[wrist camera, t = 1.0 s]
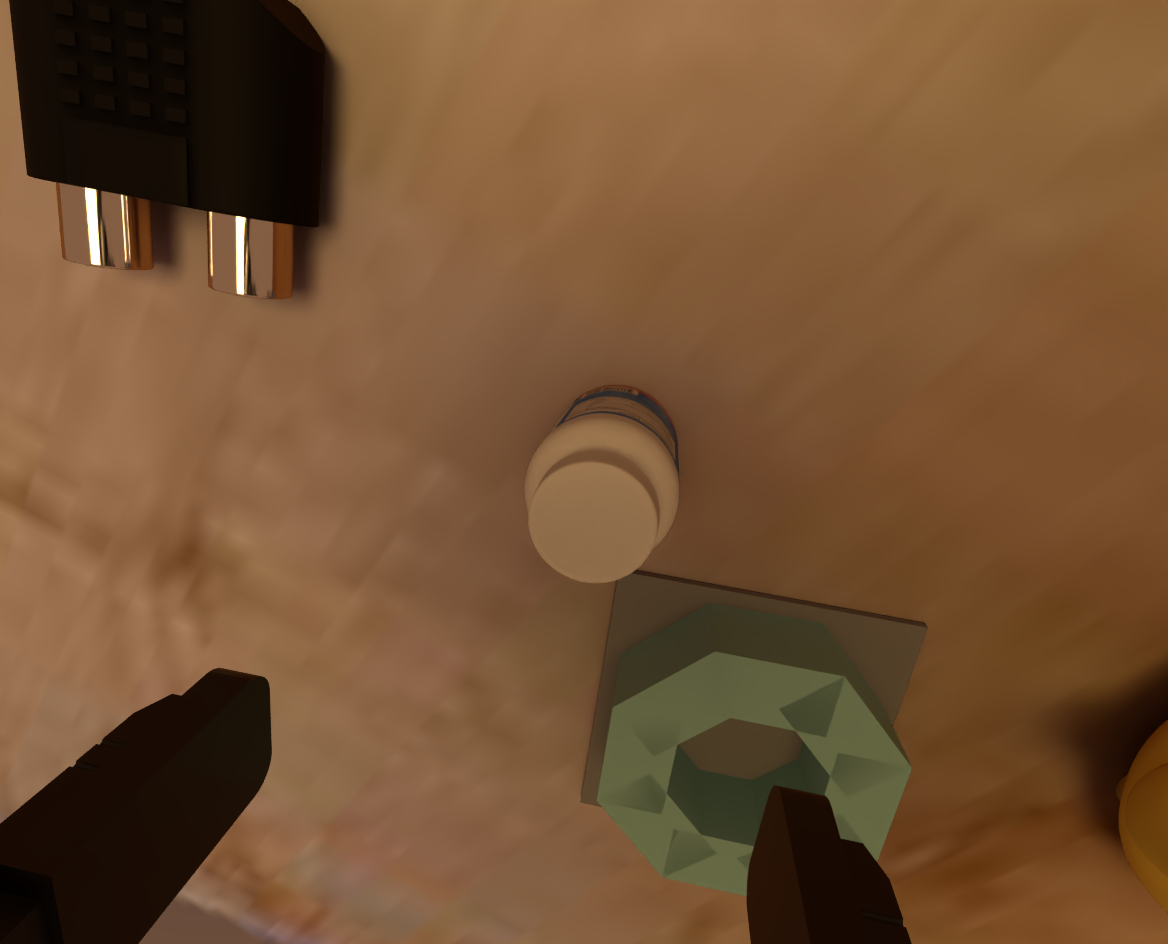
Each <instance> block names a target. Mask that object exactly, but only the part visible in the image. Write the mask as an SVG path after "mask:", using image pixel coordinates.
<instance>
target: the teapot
mask: <svg viewBox="0 0 1168 944" xmlns="http://www.w3.org/2000/svg"><path fill="white" fill-rule="evenodd" d="M1116 795H1117V798H1118V799H1119V801H1120V808H1119V814H1118V817H1119V832H1120V837H1121V842H1122V846H1123V849H1124V853H1125V855H1126V857H1127V860H1128V862H1129V865H1130V867H1131V868H1132V870H1133V872H1134V873H1135V875H1136V876H1137V878H1138V879H1139V881H1140V882H1141V883H1142V884H1143V886H1144V887H1145V888H1146V889H1147V891H1148V892H1149V893H1150V894H1151V896H1152V897H1153V898H1154V899H1155V900H1156V901H1157V902H1158V903H1159V904H1160V905H1161V907H1162V908H1163V909H1164V910H1165V911H1166V912H1167V913H1168V720H1166V721H1165V722H1164V723H1163V724H1162V725H1160V726H1159V727H1158V728H1157V729H1156V730H1155V731H1154V733H1153V734H1152V735H1151V736H1150V737H1149V738H1148V739H1147V740H1146V742H1145V743H1144V745H1143V746H1142V747H1141V749H1140V750H1139V752H1138V754H1137V755H1136V757H1135V759H1134V761H1133V763H1132V766H1131V768H1130V770H1129V772H1128V774H1127V775H1126V776H1124V777H1123V778H1122V779H1121V780H1120V781H1119V783H1118V785H1117V787H1116Z"/></svg>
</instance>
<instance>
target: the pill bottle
mask: <svg viewBox="0 0 1168 944" xmlns="http://www.w3.org/2000/svg"><path fill="white" fill-rule="evenodd" d="M524 492H525V502H526V507H527V510H528V526H529V532H530V536H531V539H532V542H533V544H534V546H535V548H536V550H537V551H538V553H539V554H540V556H541V557H542V558H543V559H544V561H545V562H546V563H547V564H548V565H549V566H551V567H552V568H553V569H554V570H556V571H557V572H559V573H560V574H562V575H564V576H566V577H568V578H571V579H574V580H577V581H581V582H586V583H606V582H611V581H616V580H618V579H621V578H623V577H625V576H627V575H629V574H631V573H632V572H634V571H635V570H636V569H637V568H639V567H640V566H641V565H642V564H643V563H644V562H645V560H646V559H647V557H648V556H649V554H650V553H651V551H652V549H654V548H655V547H656V546H657V545H658V544H659V543H660V542H661V541H662V540H663V538H664V537H665V536H666V534H667V533H668V531H669V530H670V528H671V526H672V524H673V522H674V519H675V516H676V513H677V509H678V504H679V467H678V444H677V436H676V432H675V429H674V426H673V423H672V421H671V419H670V417H669V416H668V414H667V413H666V411H665V410H664V408H663V407H662V406H661V405H660V404H659V403H658V402H657V401H656V400H655V399H653V398H652V397H651V396H649V395H648V394H646V393H644V392H642V391H640V390H637V389H635V388H631V387H626V386H604V387H600V388H597V389H594V390H591V391H589V392H587V393H585V394H583V395H582V396H580V397H579V398H577V399H576V400H575V401H574V402H573V403H572V404H571V405H570V406H569V407H568V408H567V409H566V411H565V412H564V413H563V415H562V416H561V417H560V419H559V420H558V422H557V423H556V424H555V426H554V427H553V428H552V430H551V431H550V433H549V434H548V435H547V436H546V438H545V439H544V440H543V442H542V443H541V444H540V445H539V447H538V448H537V450H536V451H535V453H534V455H533V457H532V459H531V461H530V463H529V466H528V469H527V473H526V477H525V487H524Z"/></svg>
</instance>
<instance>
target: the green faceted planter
mask: <svg viewBox="0 0 1168 944" xmlns="http://www.w3.org/2000/svg"><path fill="white" fill-rule="evenodd" d="M729 718H733V719H738V720H743V721H748V722H753V723H758V724H763V725H768V726H773V727H778V728H783V729H788V730H793V731H796V732H797V734H798V735H799V736H800V738H801V739H802V740H803V741H804V742H803V745H802V748H801V752H800V755H799V758H798V759H796V760H794V761H792V762H790V763H788V764H785V765H783V766H781V767H779V768H777V769H775V770H773V771H771V772H768V773H766V774H764V775H762V776H760V777H758V778H756V779H753V780H747V779H743V778H738V777H733V776H728V775H724V774H719V773H714V772H709V771H704V770H700V769H698V768H697V767H696V766H695V764H694V763H693V762H692V761H691V759H690V758H689V757H688V756H687V754H686V753H685V752H684V751H683V750H682V748H681V747H680V746H679V745H678V744H680V743H682V742H684V741H686V740H688V739H690V738H692V737H694V736H696V735H698V734H700V733H702V732H704V731H706V730H708V729H710V728H712V727H714V726H716V725H718V724H719V723H721V722H723V721H725V720H727V719H729ZM911 770H912V766H911V764H910V762H909V760H908V758H907V756H906V754H905V751H904V749H903V747H902V745H901V743H900V741H899V738H898V736H897V734H896V732H895V730H894V728H893V725H892V723H891V721H890V719H889V717H888V715H887V713H886V710H885V708H884V706H883V705H882V703H881V702H880V700H879V699H878V698H877V696H876V695H875V694H874V692H873V691H872V689H871V688H870V687H869V685H868V684H867V683H866V681H865V680H864V679H863V677H862V676H861V674H860V673H859V672H858V670H857V669H856V668H855V666H854V665H853V663H852V662H851V661H850V659H849V658H848V657H847V655H846V654H845V652H844V651H843V650H842V648H841V647H840V646H839V644H838V643H837V641H836V640H835V639H834V637H833V636H832V635H831V633H830V632H829V630H828V629H827V628H826V626H825V625H824V624H823V623H818V622H812V621H807V620H801V619H796V618H791V617H785V616H780V615H775V614H769V613H764V612H758V611H753V610H748V609H742V608H737V607H731V606H726V605H721V604H715V603H711V602H710V603H709V604H707V605H705V606H703V607H702V608H700V609H698V610H696V611H695V612H693V613H691V614H690V615H688V616H686V617H684V618H683V619H681V620H679V621H677V622H676V623H674V624H672V625H670V626H669V627H667V628H665V629H663V630H662V631H660V632H658V633H656V634H655V635H653V636H651V637H650V638H648V639H646V640H644V641H643V642H641V643H639V644H637V645H636V646H634V647H632V648H630V649H629V650H627V651H625V652H623V653H622V654H621V655H620V661H619V667H618V673H617V678H616V684H615V690H614V695H613V701H612V707H611V712H610V718H609V724H608V729H607V735H606V740H605V747H604V753H603V760H602V766H601V773H600V779H599V786H598V792H597V799H596V801H597V802H598V803H599V804H600V805H601V806H602V808H603V809H604V810H605V811H606V812H607V813H608V815H609V816H610V817H611V818H612V819H613V820H614V821H615V823H616V824H617V825H618V826H619V827H620V828H621V830H622V831H623V832H624V833H625V834H626V835H627V837H628V838H629V839H630V840H631V841H632V842H633V844H634V845H635V846H636V847H637V848H638V849H639V851H640V852H641V853H642V854H643V855H644V856H645V858H646V859H647V860H648V861H649V862H650V863H651V865H652V866H653V867H654V868H655V869H656V870H657V871H658V873H659V874H660V875H661V876H662V877H663V878H667V879H672V880H676V881H681V882H685V883H690V884H694V885H698V886H703V887H707V888H712V889H716V890H721V891H725V892H729V893H734V894H738V895H743V896H747V877H748V869H749V863H750V859H751V855H752V851H753V848H754V844H755V841H756V838H757V834H758V831H759V827H760V824H761V820H762V817H763V813H764V810H765V806H766V803H767V800H768V796H769V793H770V791H771V789H772V787H773V786H774V785H777V786H782V787H787V788H792V789H796V790H801V791H806V792H811V793H816V794H820V795H825V796H826V797H827V798H828V799H829V801H830V804H831V806H832V810H833V813H834V817H835V820H836V824H837V827H838V831H839V834H840V838H841V839H846V840H850V841H855V842H860V843H863V844H864V845H865V847H866V848H867V849H868V851H869V852H870V853H871V855H872V856H873V858H874V859H875V860H876V862H877V860H878V858H879V855H880V852H881V850H882V847H883V844H884V842H885V839H886V836H887V834H888V831H889V828H890V826H891V823H892V820H893V818H894V815H895V812H896V810H897V807H898V804H899V802H900V799H901V796H902V794H903V791H904V788H905V786H906V783H907V780H908V778H909V775H910V772H911Z"/></svg>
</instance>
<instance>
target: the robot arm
mask: <svg viewBox="0 0 1168 944" xmlns="http://www.w3.org/2000/svg"><path fill="white" fill-rule="evenodd" d="M271 755H272V745H271V714H270V688H269V683H268V681H267V679H266V678H265V677H262V676H257V675H252V674H247V673H243V672H238V671H233V670H228V669H223V668H216V669H213V670H211V671H210V672H208V673H207V674H206V675H205V676H204V677H202V678H201V679H200V680H199V681H198V682H197V683H196V684H194V685H193V686H192V687H191V688H190V689H189V690H188V691H186V692H185V693H184V694H183V695H182V696H180V695H175V694H171V695H169V696H167V697H165V698H163V699H161V700H159V701H157V702H155V703H153V704H151V705H149V706H147V707H145V708H143V709H141V710H139V711H137V712H135V713H133V714H132V715H131V716H130V717H128V718H127V719H126V720H125V721H124V722H122V723H121V724H120V725H119V726H118V727H116V728H115V729H114V730H113V731H112V732H110V733H109V734H108V735H107V736H106V737H104V738H103V740H102V743H101V744H100V745H98V744H96V745H95V746H93V747H92V748H91V749H90V750H89V751H87V752H86V753H85V754H84V755H83V756H81V757H80V758H79V759H78V760H77V761H76V764H75V765H74V766H73V767H70V766H69V767H68V768H67V769H66V770H65V771H63V772H62V773H61V774H60V775H58V776H57V777H56V778H55V779H54V780H52V781H51V782H50V783H49V784H48V785H46V786H45V787H44V788H43V789H42V790H40V791H39V792H38V793H37V794H36V795H34V796H33V797H32V798H31V799H30V800H28V801H27V802H26V803H25V804H24V805H22V806H21V807H20V808H19V809H18V810H16V811H15V812H14V813H13V814H11V815H10V816H9V817H8V818H7V819H5V820H4V821H3V822H2V823H1V824H0V944H138V943H139V942H140V941H141V940H142V938H143V937H144V936H145V934H146V933H147V932H148V931H149V930H150V928H151V927H152V926H153V925H154V923H155V922H156V921H157V919H158V918H159V917H160V915H161V914H162V913H163V912H164V911H165V909H166V908H167V906H169V904H170V903H171V902H172V900H173V899H174V898H175V897H176V895H177V894H178V893H179V892H180V890H181V889H182V888H183V887H184V885H185V884H186V883H187V882H188V880H189V879H190V878H191V876H192V875H193V874H194V873H195V871H196V870H197V869H198V868H199V866H200V865H201V864H202V863H203V861H204V860H205V859H206V857H207V856H208V855H209V854H210V852H211V851H212V850H213V849H214V847H215V846H216V845H217V844H218V842H219V841H220V840H221V838H222V837H223V836H224V835H225V833H226V832H227V831H228V830H229V828H230V827H231V826H232V825H233V823H234V822H235V821H236V820H237V818H238V817H239V816H240V814H241V813H242V812H243V811H244V809H245V808H246V807H247V806H248V804H249V803H250V802H251V801H252V799H253V798H254V797H255V795H256V794H257V792H258V791H259V789H260V788H261V786H262V784H263V782H264V780H265V777H266V775H267V772H268V769H269V766H270V761H271ZM747 912H748V921H749V930H750V940H751V944H912V943H911V940H910V938H909V935H908V932H907V929H906V927H903V917H902V914H901V911H900V909H899V906H898V903H897V900H896V897H895V894H894V891H893V888H892V885H891V883H890V880H889V878H888V877H887V875H886V874H885V873H884V871H883V870H882V869H881V867H880V866H879V864H878V863H877V862H876V860H875V859H874V858H873V856H872V855H871V853H870V852H869V851H868V849H867V848H866V847H865V845H864V844H863V843H860V842H855V841H850V840H846V839H841V838H840V834H839V831H838V827H837V824H836V820H835V817H834V813H833V810H832V806H831V804H830V801H829V799H828V798H827V797H826V796H825V795H820V794H816V793H811V792H806V791H801V790H796V789H792V788H787V787H782V786H777V785H774V786H773V787H772V789H771V791H770V793H769V796H768V800H767V803H766V806H765V810H764V813H763V817H762V820H761V824H760V827H759V831H758V834H757V838H756V841H755V844H754V848H753V851H752V855H751V859H750V863H749V869H748V877H747Z"/></svg>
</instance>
